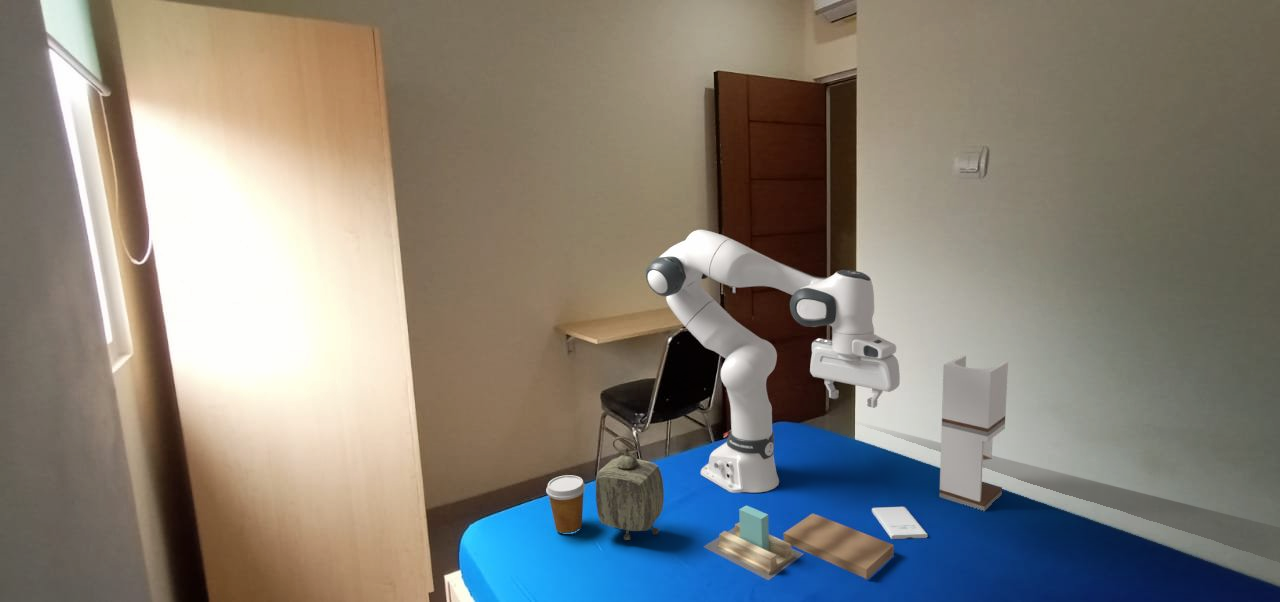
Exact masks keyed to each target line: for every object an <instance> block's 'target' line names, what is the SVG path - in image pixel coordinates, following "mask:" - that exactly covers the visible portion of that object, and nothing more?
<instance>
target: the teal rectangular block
mask: <svg viewBox="0 0 1280 602" xmlns="http://www.w3.org/2000/svg"><path fill="white" fill-rule="evenodd" d="M738 511H739V513H738V514H739V515H738V516H739V522H740V538H741V539H743V540H746V541H748V542H750V543H752V544H754V545H756V546H758V547H760V548H762V549H765V550H767V551H769V535H770V532H769V513H768V514H767V513H765V512H763V511H760V510H758V509H756V508H753V507H751V506H749V505H745V506H743V507H741V508H739V509H738Z"/></svg>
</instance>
